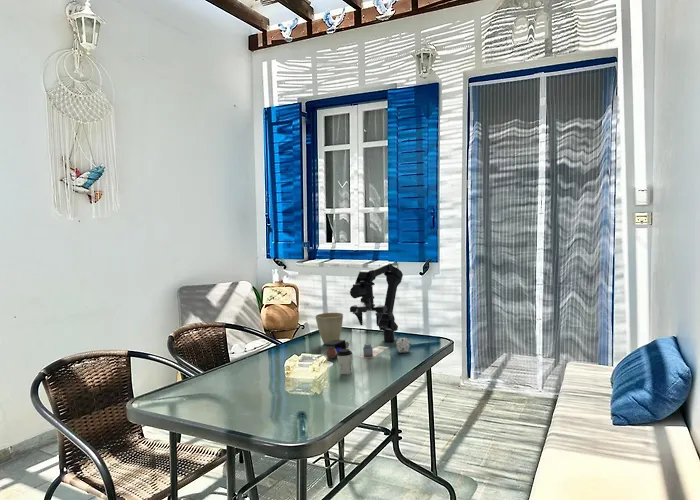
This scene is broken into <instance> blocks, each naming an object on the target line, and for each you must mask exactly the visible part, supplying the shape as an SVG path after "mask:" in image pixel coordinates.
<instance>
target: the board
mask: <svg viewBox="0 0 700 500" xmlns="http://www.w3.org/2000/svg"><path fill="white" fill-rule="evenodd" d="M388 348H389V346H379V345H378V346H376V347H374V348H372V350H373V356H371V357H364V354H362V355H360V356H359V358H365V359H372V358H374V357H375V356H377V355H379V354H380V353H382V352H383V351H385V350H387V349H388Z"/></svg>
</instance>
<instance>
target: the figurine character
mask: <svg viewBox="0 0 700 500" xmlns="http://www.w3.org/2000/svg"><path fill="white" fill-rule="evenodd" d="M322 346H323V347H324V346H327V347H328V346H331V347H329V348H328V349H327V350H326V352H325V353H326V356H327V357H328V358H330V359H334V358H336V357H337V355H336V354H337V352H339V350H340V349H349V347H350V343H349V342H348V341H346V339H339V340H334V341H331V342H328V343H326V344H324V343H323V345H322ZM332 346H334V347H332Z"/></svg>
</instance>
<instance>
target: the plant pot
mask: <svg viewBox="0 0 700 500" xmlns="http://www.w3.org/2000/svg"><path fill="white" fill-rule="evenodd" d="M315 320H316V326H317V329H318V332H319V336H320V338H321V340H322V342H323V344H326V343H328V342H331V341H334V340H340V336H341V334H342V333H341V332H342V328H343V320H344V313H343V312H342V313H341V312H325V313H324V312H323V313H319V314H316V315H315Z"/></svg>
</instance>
